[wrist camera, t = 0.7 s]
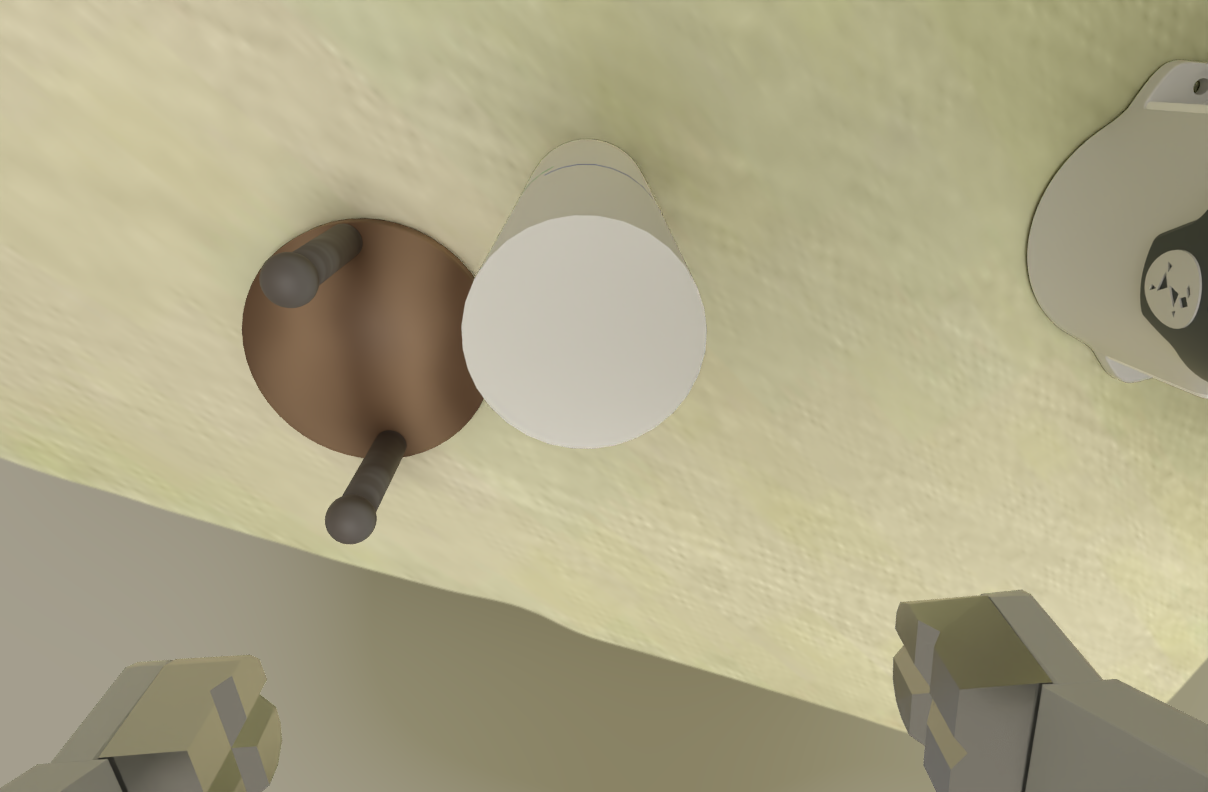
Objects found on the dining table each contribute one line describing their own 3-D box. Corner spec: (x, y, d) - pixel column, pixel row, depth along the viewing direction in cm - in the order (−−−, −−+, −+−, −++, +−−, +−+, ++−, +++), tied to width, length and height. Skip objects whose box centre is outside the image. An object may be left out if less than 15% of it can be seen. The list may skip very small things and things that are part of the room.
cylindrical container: (661, 246, 47) (728, 417, 24) (546, 276, 48) (504, 472, 25) (631, 123, 45) (676, 184, 21) (510, 158, 45) (426, 253, 22)
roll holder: (474, 200, 46) (438, 241, 35) (513, 441, 52) (492, 540, 41) (220, 226, 46) (107, 275, 35) (287, 463, 52) (208, 567, 41)
